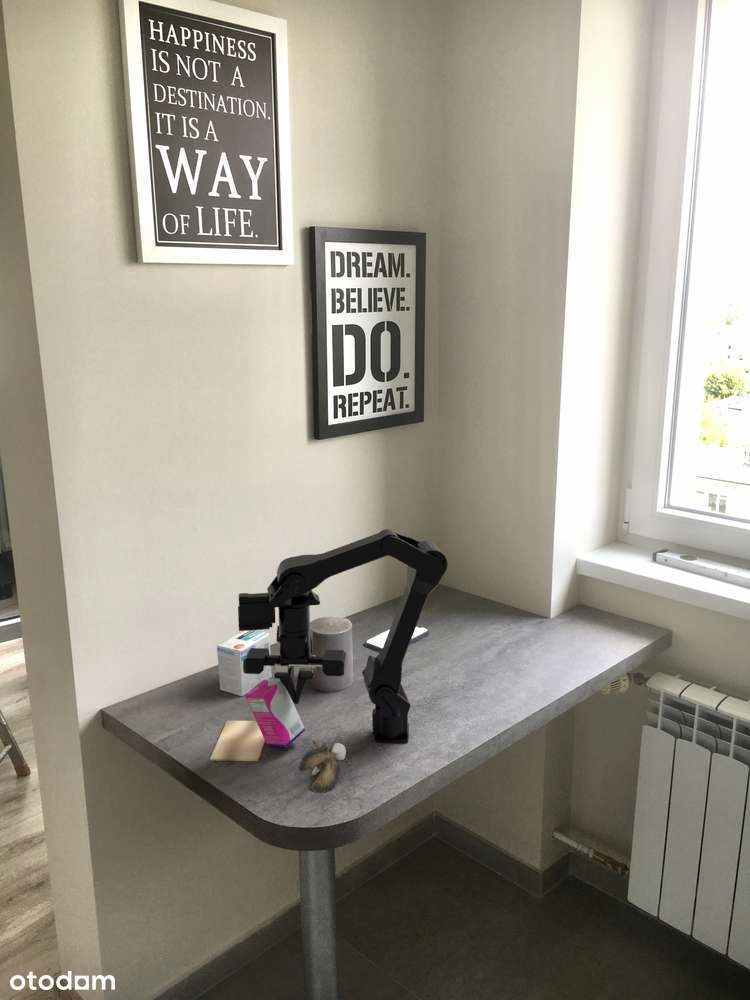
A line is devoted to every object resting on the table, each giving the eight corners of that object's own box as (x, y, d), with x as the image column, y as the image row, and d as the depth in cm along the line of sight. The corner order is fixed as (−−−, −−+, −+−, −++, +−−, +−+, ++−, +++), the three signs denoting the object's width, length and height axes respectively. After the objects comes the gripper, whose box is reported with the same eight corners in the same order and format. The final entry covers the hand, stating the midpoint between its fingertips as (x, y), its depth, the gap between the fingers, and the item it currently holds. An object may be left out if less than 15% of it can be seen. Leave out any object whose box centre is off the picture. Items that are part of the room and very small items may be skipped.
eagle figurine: (300, 757, 154) (288, 776, 145) (321, 726, 153) (310, 743, 144) (334, 781, 153) (324, 802, 144) (356, 751, 152) (346, 769, 143)
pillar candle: (300, 682, 185) (298, 620, 181) (332, 667, 192) (330, 607, 188) (331, 697, 179) (329, 632, 175) (362, 680, 186) (361, 618, 182)
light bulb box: (249, 671, 192) (247, 627, 189) (273, 677, 188) (270, 632, 186) (218, 690, 183) (215, 644, 180) (242, 697, 179) (239, 650, 177)
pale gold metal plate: (271, 722, 169) (271, 720, 168) (258, 761, 155) (258, 759, 155) (227, 722, 169) (226, 720, 169) (210, 760, 155) (210, 758, 155)
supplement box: (285, 728, 164) (264, 677, 162) (306, 730, 160) (284, 678, 158) (265, 746, 160) (243, 694, 158) (286, 748, 156) (263, 694, 154)
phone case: (389, 657, 198) (431, 635, 210) (389, 651, 198) (431, 629, 209) (362, 647, 204) (404, 626, 215) (362, 641, 204) (404, 620, 215)
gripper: (348, 611, 162) (349, 684, 166) (252, 608, 163) (255, 682, 167) (343, 634, 151) (344, 712, 155) (241, 632, 152) (244, 709, 156)
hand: (296, 703), depth 158 cm, fingers closed
